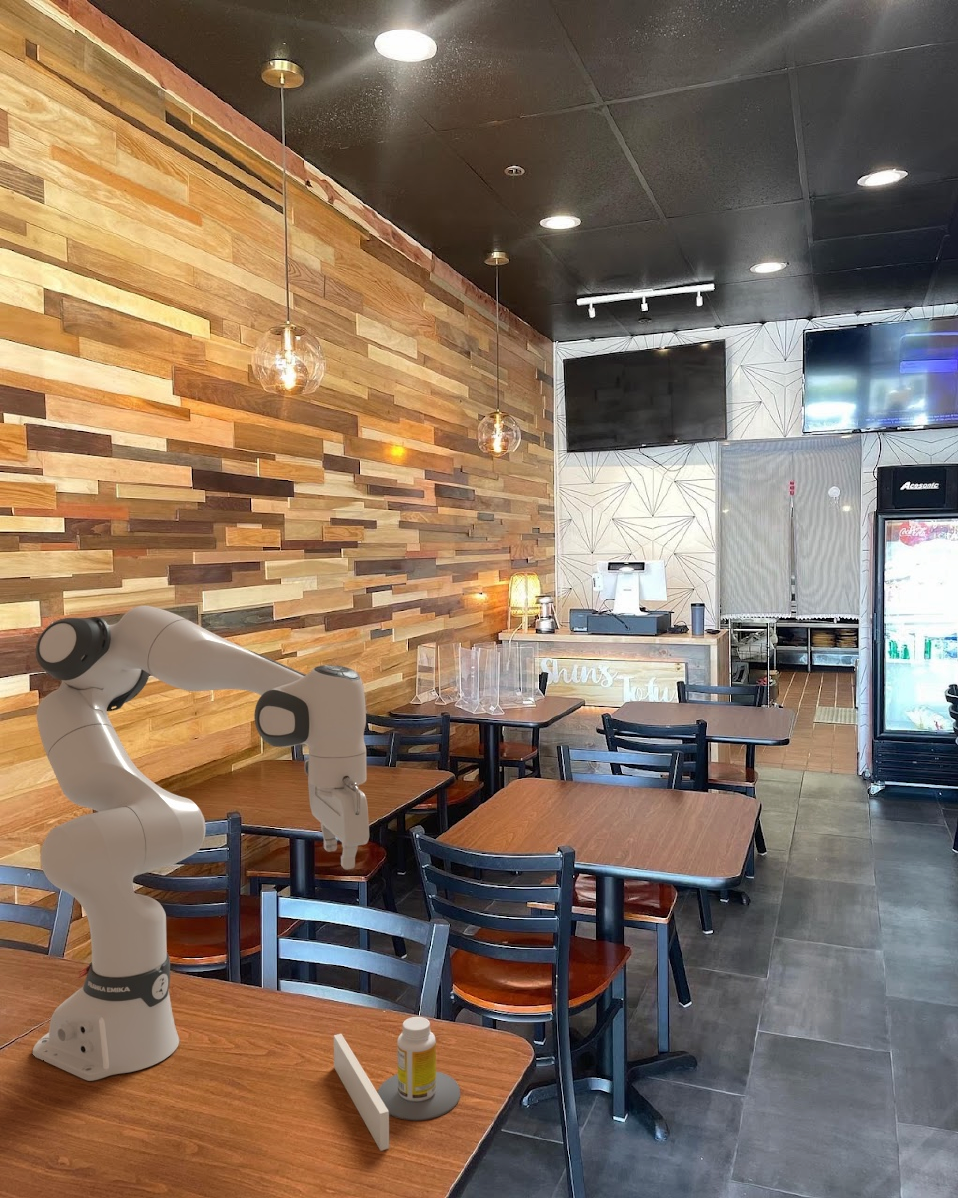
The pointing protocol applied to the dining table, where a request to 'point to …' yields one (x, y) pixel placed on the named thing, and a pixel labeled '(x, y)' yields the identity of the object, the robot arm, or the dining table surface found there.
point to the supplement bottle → (416, 1060)
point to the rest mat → (420, 1110)
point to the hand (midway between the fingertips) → (338, 858)
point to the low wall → (362, 1092)
